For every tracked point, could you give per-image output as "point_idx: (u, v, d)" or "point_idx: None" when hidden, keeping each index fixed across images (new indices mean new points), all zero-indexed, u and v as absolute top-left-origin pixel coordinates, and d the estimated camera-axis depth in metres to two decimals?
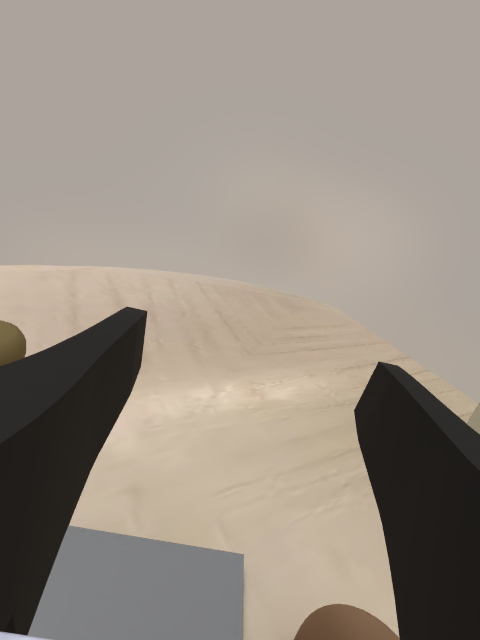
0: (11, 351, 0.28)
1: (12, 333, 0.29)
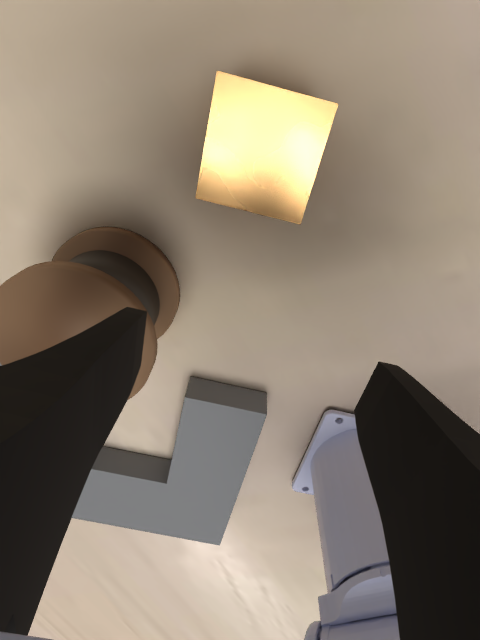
0: None
1: None
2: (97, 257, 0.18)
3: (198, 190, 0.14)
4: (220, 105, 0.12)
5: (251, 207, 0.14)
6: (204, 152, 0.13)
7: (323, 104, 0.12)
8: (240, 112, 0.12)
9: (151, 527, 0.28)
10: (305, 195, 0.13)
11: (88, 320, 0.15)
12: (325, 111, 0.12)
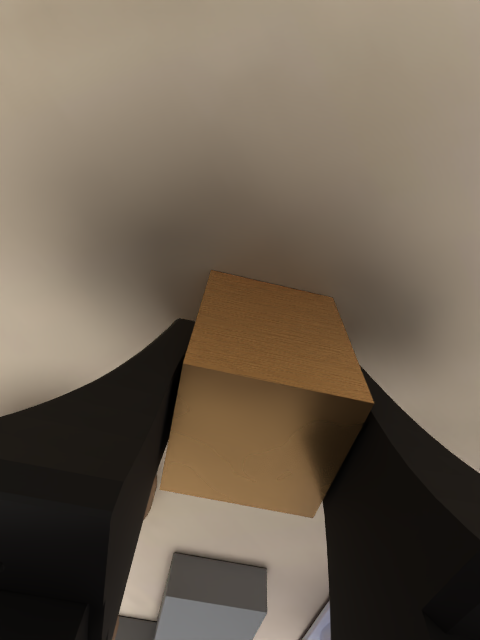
0: None
1: None
2: None
3: (163, 483, 0.09)
4: (191, 400, 0.08)
5: (241, 500, 0.09)
6: (169, 446, 0.09)
7: (351, 403, 0.08)
8: (223, 408, 0.08)
9: None
10: (321, 492, 0.09)
11: None
12: (354, 410, 0.08)
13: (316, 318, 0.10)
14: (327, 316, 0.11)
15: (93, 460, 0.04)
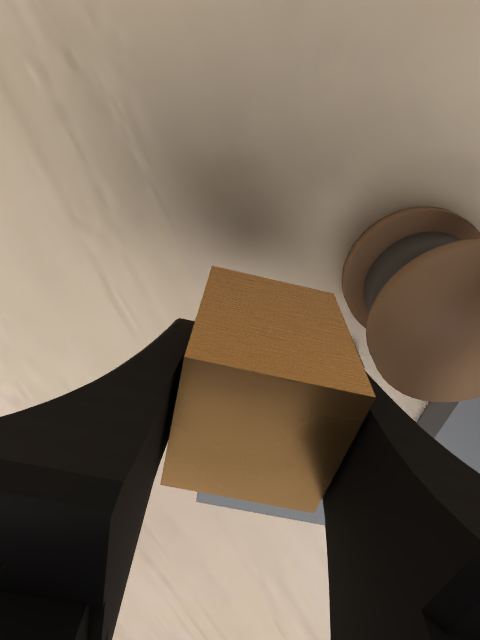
0: None
1: None
2: (447, 238, 0.16)
3: (164, 478, 0.09)
4: (192, 394, 0.08)
5: (242, 496, 0.09)
6: (170, 441, 0.09)
7: (352, 397, 0.08)
8: (223, 402, 0.08)
9: None
10: (322, 487, 0.09)
11: None
12: (355, 404, 0.08)
13: (317, 313, 0.10)
14: (329, 311, 0.11)
15: (93, 460, 0.04)
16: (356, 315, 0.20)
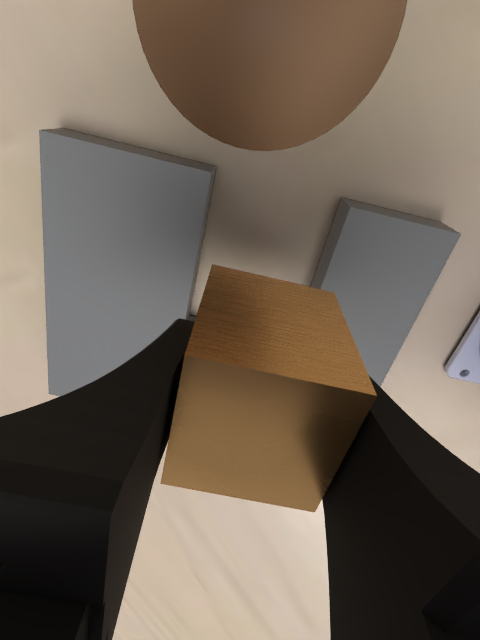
0: None
1: None
2: None
3: (164, 477, 0.09)
4: (192, 392, 0.08)
5: (243, 495, 0.09)
6: (170, 440, 0.09)
7: (353, 395, 0.08)
8: (224, 400, 0.08)
9: None
10: (322, 486, 0.09)
11: None
12: (356, 402, 0.08)
13: (318, 312, 0.10)
14: (329, 309, 0.11)
15: (93, 460, 0.04)
16: None
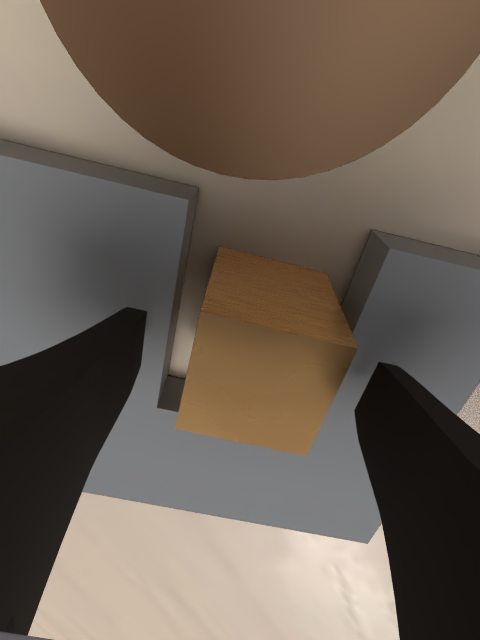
0: None
1: None
2: None
3: (178, 422, 0.11)
4: (205, 345, 0.09)
5: (245, 439, 0.11)
6: (185, 388, 0.10)
7: (339, 348, 0.09)
8: (232, 352, 0.09)
9: (262, 516, 0.17)
10: (313, 431, 0.11)
11: None
12: (341, 354, 0.09)
13: (311, 287, 0.12)
14: (321, 285, 0.12)
15: None
16: None
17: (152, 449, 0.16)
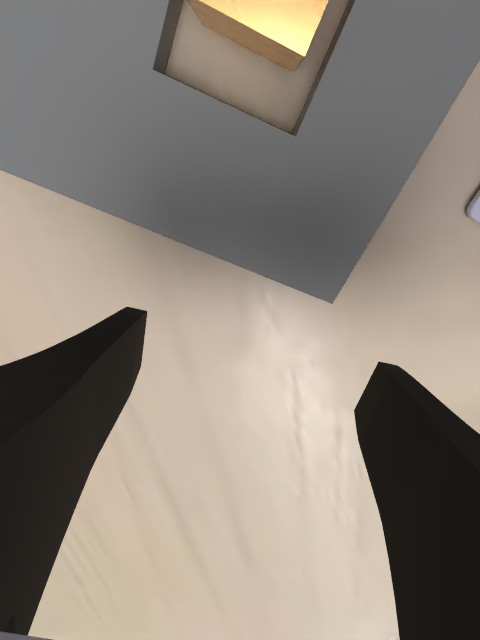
0: None
1: None
2: None
3: None
4: None
5: (249, 18, 0.11)
6: None
7: None
8: None
9: (236, 251, 0.17)
10: (317, 13, 0.11)
11: None
12: None
13: None
14: None
15: None
16: None
17: (138, 134, 0.15)
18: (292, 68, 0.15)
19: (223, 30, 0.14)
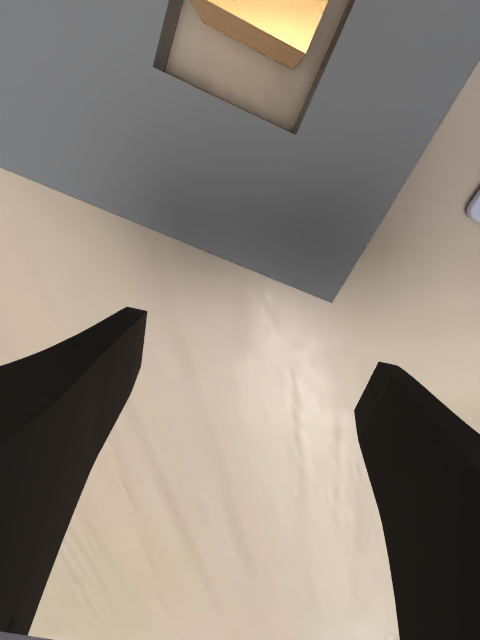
0: None
1: None
2: None
3: None
4: None
5: (249, 15, 0.11)
6: None
7: None
8: None
9: (235, 250, 0.17)
10: (318, 10, 0.11)
11: None
12: None
13: None
14: None
15: None
16: None
17: (138, 132, 0.15)
18: (293, 66, 0.15)
19: (224, 27, 0.14)
